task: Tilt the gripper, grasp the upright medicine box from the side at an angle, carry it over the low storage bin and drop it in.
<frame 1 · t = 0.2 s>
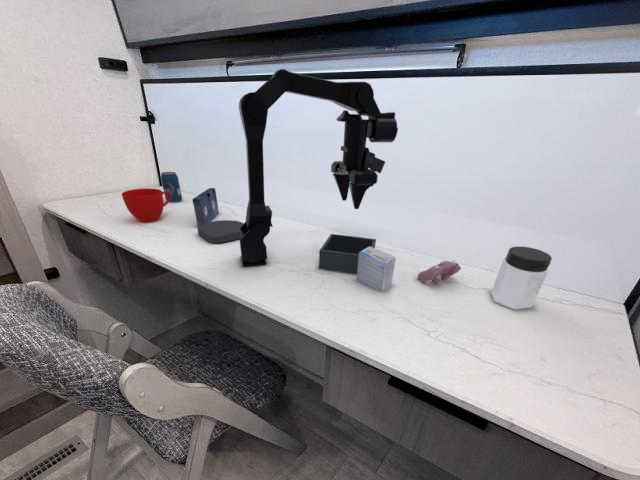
hand: (350, 204, 86), 15 cm above the table, tool pointing down, fingers open, 9 cm apart
jar: (509, 300, 72), on the table
ceramic cup: (154, 218, 117), on the table
storage bin: (347, 262, 88), on the table
medicine box: (373, 284, 78), on the table, touching storage bin
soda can: (174, 201, 139), on the table
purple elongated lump: (437, 281, 80), on the table
media streaming box: (224, 235, 104), on the table
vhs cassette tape: (209, 220, 117), on the table
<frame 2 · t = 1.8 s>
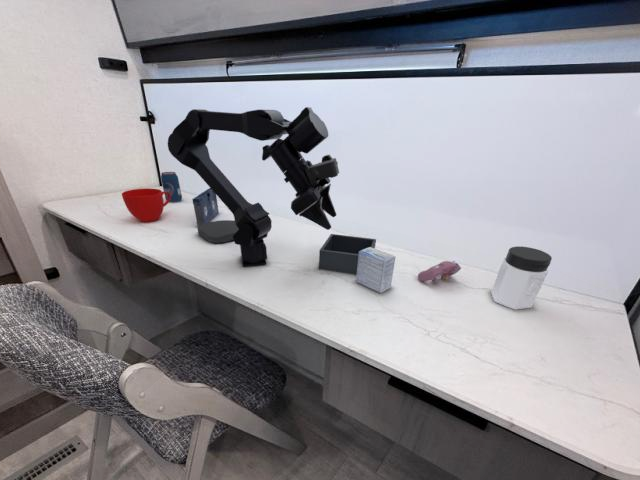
hand: (332, 222, 74), 14 cm above the table, tool tilted 40°, fingers open, 9 cm apart
medicine box: (372, 286, 77), on the table
everything else where it was.
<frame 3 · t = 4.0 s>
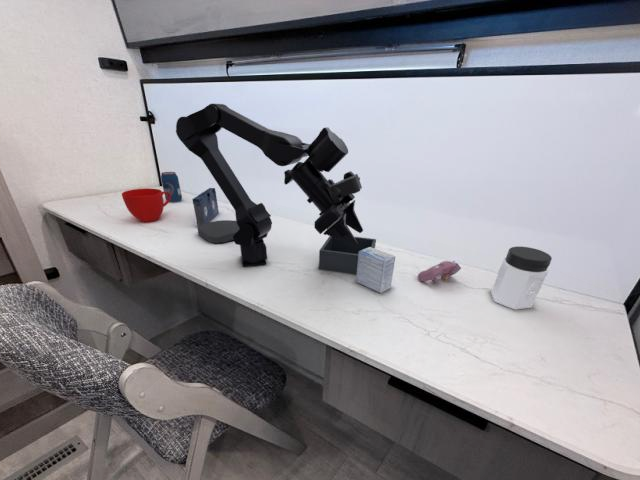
hand: (359, 237, 73), 11 cm above the table, tool tilted 45°, fingers open, 9 cm apart
nothing on the table moved.
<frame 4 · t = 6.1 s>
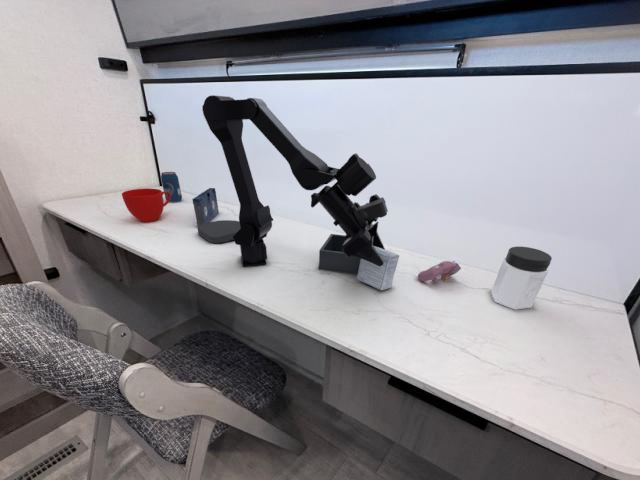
hand: (383, 259, 74), 7 cm above the table, tool tilted 45°, fingers closed on medicine box, 7 cm apart
medicine box: (373, 284, 76), on the table, touching gripper
everything else where it was.
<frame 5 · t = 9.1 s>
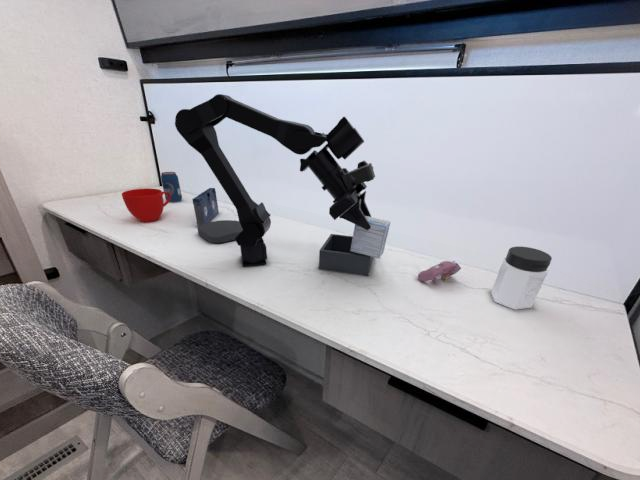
hand: (370, 225, 75), 13 cm above the table, tool tilted 45°, fingers closed on medicine box, 5 cm apart
medicine box: (366, 253, 79), point 6 cm above the table, touching gripper
everything else where it was.
when the fingers open (8 cm above the table, at t = 12.1 s): medicine box stays where it is, resting on storage bin.
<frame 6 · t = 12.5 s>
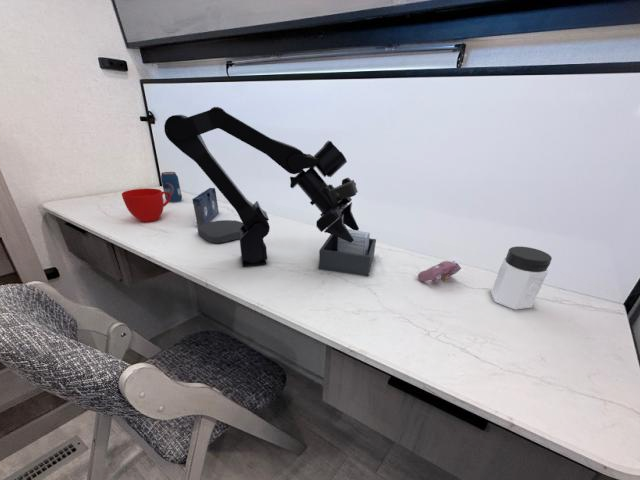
hand: (355, 235, 83), 8 cm above the table, tool tilted 45°, fingers open, 9 cm apart
medicine box: (351, 262, 87), resting on storage bin
everything else where it was.
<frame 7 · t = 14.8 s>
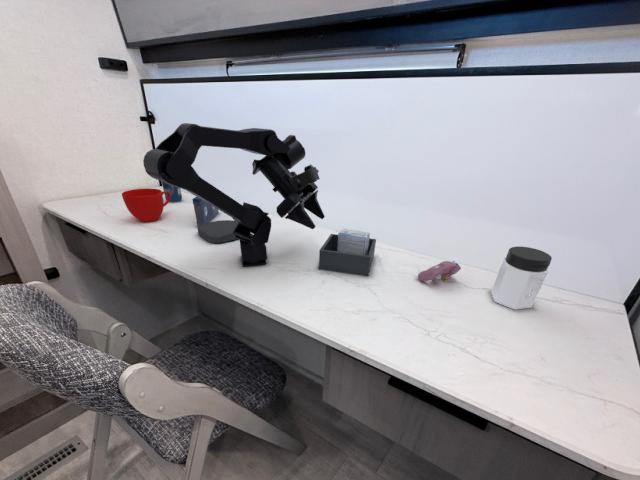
hand: (319, 222, 84), 11 cm above the table, tool tilted 45°, fingers open, 9 cm apart
nothing on the table moved.
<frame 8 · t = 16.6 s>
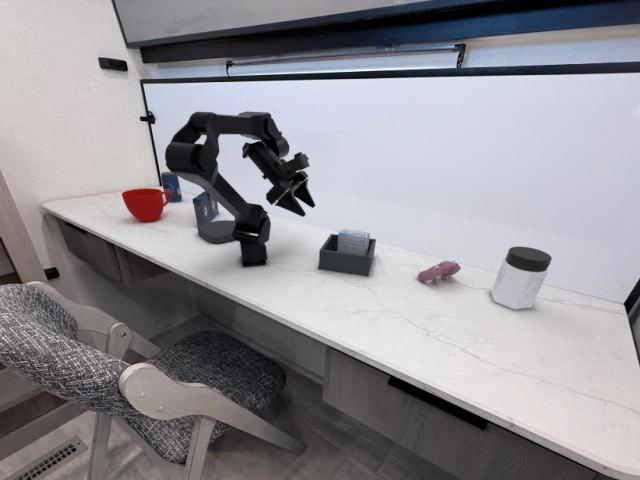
hand: (309, 211, 83), 14 cm above the table, tool tilted 45°, fingers open, 9 cm apart
nothing on the table moved.
at the end: medicine box inside the target area in the storage bin (1.2 cm from its centre), point 0.3 cm above the storage bin's base; the gripper is holding nothing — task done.
